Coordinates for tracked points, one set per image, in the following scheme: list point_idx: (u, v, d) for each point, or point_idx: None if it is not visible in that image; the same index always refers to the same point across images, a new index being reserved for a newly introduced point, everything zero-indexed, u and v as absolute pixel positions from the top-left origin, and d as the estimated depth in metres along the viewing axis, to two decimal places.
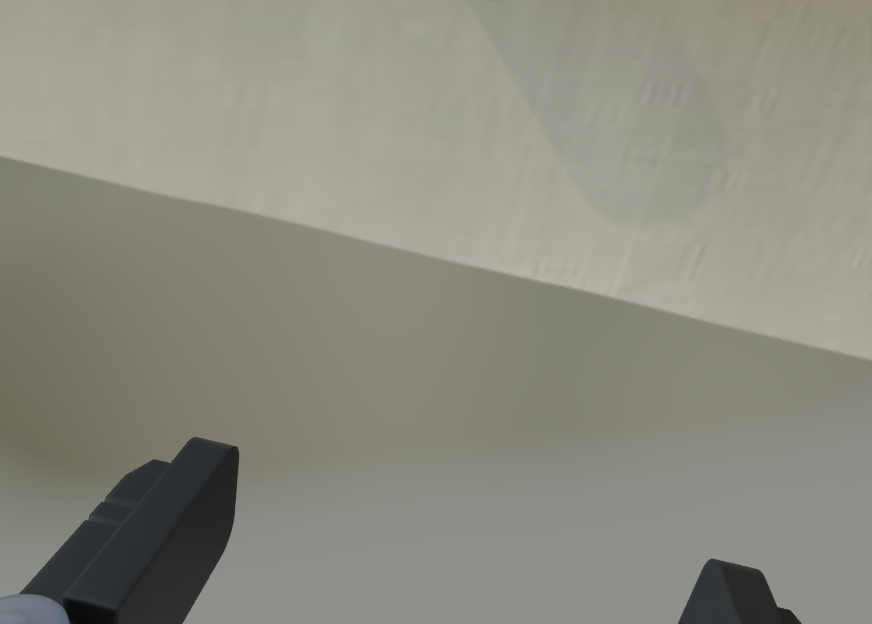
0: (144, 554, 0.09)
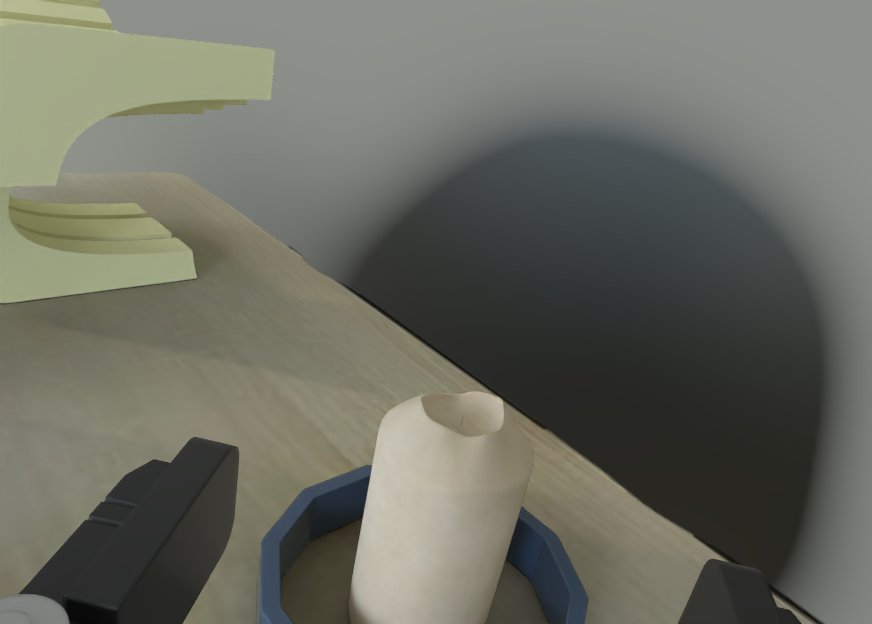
0: (144, 554, 0.09)
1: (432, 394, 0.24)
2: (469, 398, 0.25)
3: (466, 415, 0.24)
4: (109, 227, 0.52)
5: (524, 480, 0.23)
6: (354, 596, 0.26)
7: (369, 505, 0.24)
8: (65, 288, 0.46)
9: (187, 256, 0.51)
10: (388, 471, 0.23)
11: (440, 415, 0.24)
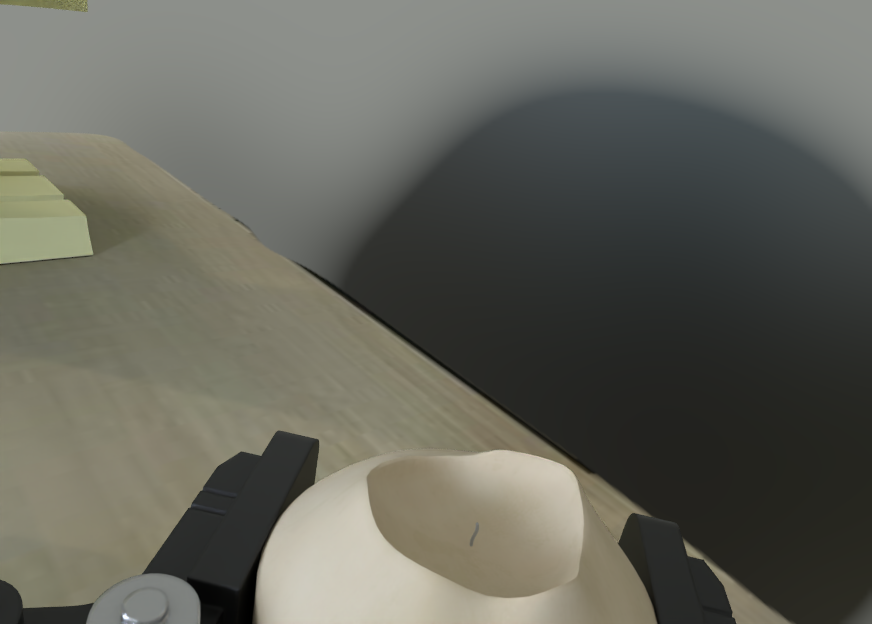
0: (253, 539, 0.09)
1: (400, 460, 0.10)
2: (491, 467, 0.10)
3: (485, 510, 0.10)
4: None
5: None
6: None
7: None
8: None
9: (78, 224, 0.37)
10: None
11: (419, 514, 0.10)
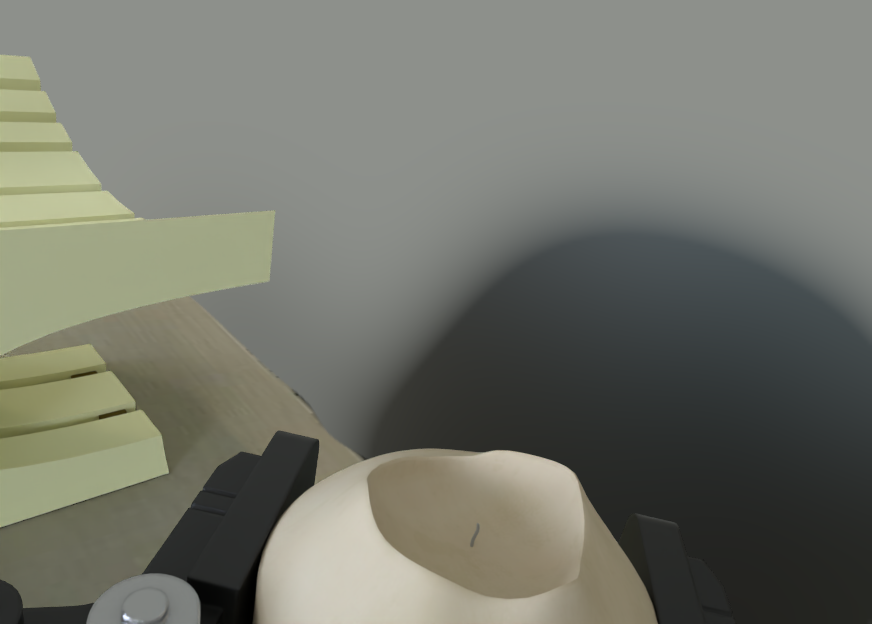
0: (253, 539, 0.09)
1: (400, 460, 0.10)
2: (491, 467, 0.10)
3: (485, 511, 0.10)
4: (48, 400, 0.38)
5: None
6: None
7: None
8: None
9: (155, 444, 0.37)
10: None
11: (420, 514, 0.09)
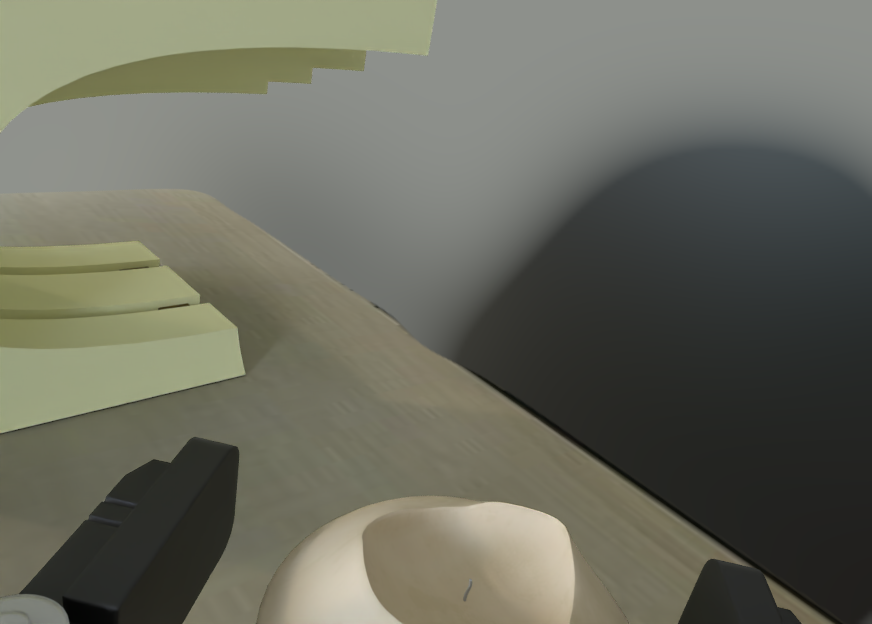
0: (144, 554, 0.09)
1: (395, 513, 0.10)
2: (485, 518, 0.10)
3: (479, 563, 0.10)
4: (97, 288, 0.31)
5: None
6: None
7: None
8: (14, 416, 0.25)
9: (229, 338, 0.30)
10: None
11: (414, 568, 0.10)
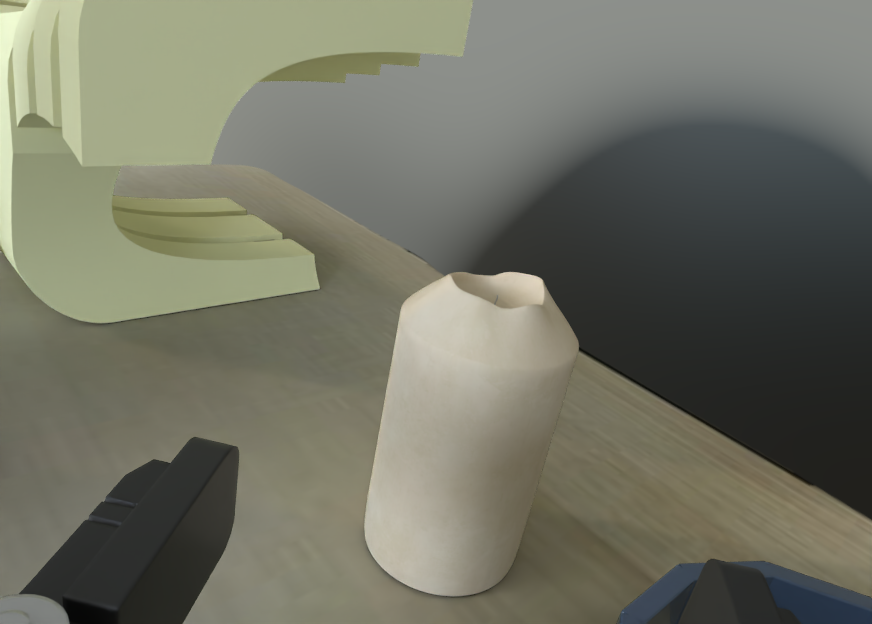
0: (144, 554, 0.09)
1: (461, 273, 0.21)
2: (503, 280, 0.22)
3: (500, 297, 0.21)
4: (210, 226, 0.43)
5: (570, 362, 0.20)
6: (371, 511, 0.23)
7: (389, 400, 0.21)
8: (173, 303, 0.36)
9: (309, 262, 0.42)
10: (413, 351, 0.20)
11: None
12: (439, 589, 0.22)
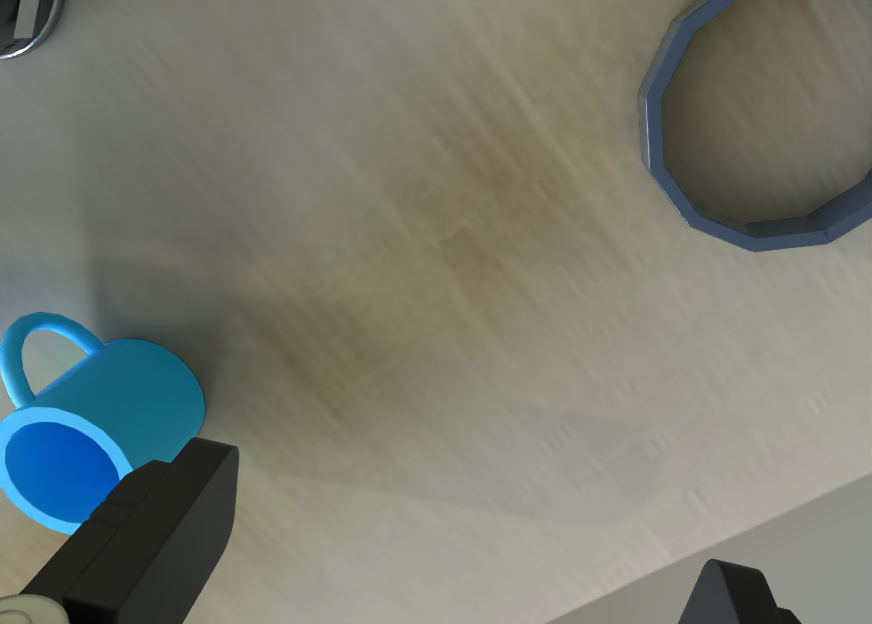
0: (144, 554, 0.09)
1: None
2: None
3: None
4: None
5: None
6: None
7: None
8: None
9: None
10: None
11: None
12: None
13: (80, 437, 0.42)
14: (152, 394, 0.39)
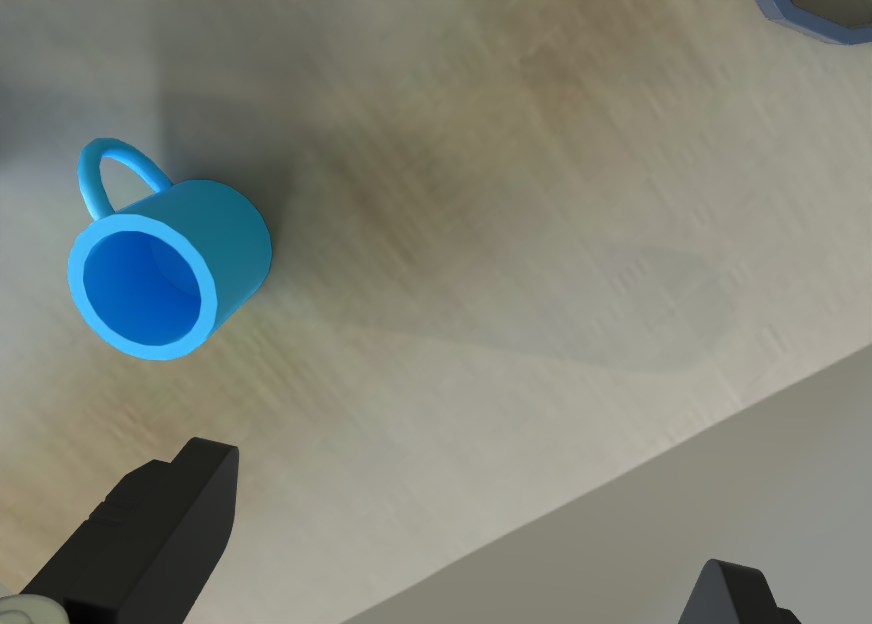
0: (144, 554, 0.09)
1: None
2: None
3: None
4: None
5: None
6: None
7: None
8: None
9: None
10: None
11: None
12: None
13: (148, 279, 0.41)
14: (227, 221, 0.38)
